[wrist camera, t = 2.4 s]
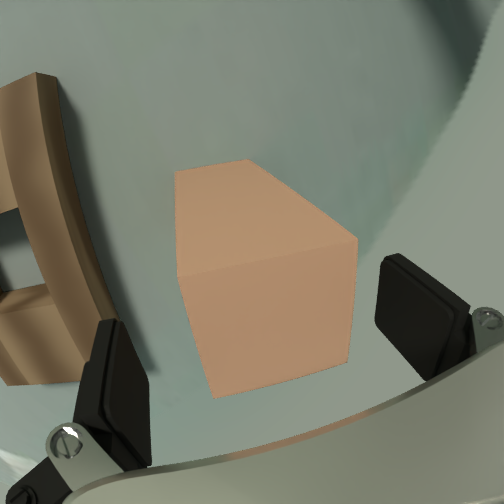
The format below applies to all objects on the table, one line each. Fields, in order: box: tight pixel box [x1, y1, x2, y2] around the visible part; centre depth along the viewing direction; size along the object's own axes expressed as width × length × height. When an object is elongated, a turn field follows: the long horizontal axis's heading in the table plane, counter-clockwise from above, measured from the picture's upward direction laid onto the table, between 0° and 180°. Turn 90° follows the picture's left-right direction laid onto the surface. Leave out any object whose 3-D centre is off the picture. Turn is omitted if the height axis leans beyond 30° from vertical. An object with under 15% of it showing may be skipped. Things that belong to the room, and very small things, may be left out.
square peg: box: [175, 159, 358, 399], centre depth 15 cm, size 5×5×14 cm
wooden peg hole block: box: [0, 72, 120, 386], centre depth 17 cm, size 13×22×4 cm, turn 6°
